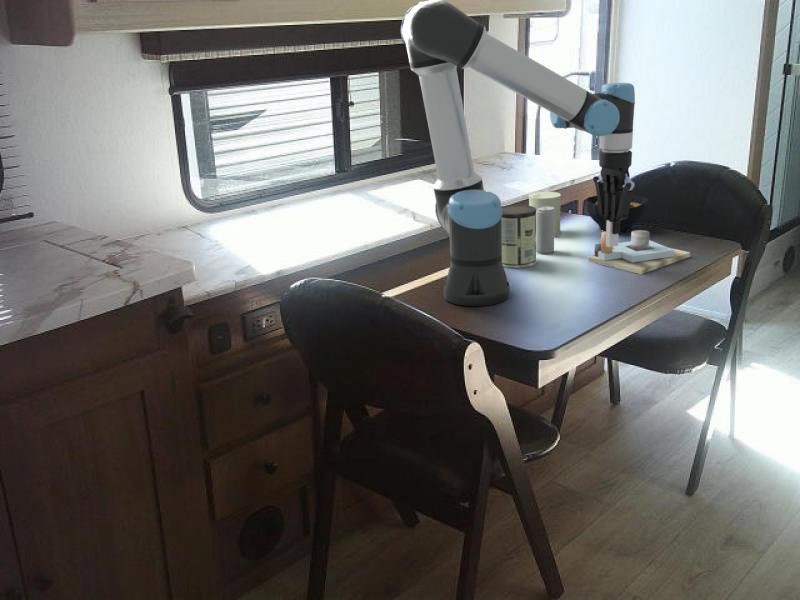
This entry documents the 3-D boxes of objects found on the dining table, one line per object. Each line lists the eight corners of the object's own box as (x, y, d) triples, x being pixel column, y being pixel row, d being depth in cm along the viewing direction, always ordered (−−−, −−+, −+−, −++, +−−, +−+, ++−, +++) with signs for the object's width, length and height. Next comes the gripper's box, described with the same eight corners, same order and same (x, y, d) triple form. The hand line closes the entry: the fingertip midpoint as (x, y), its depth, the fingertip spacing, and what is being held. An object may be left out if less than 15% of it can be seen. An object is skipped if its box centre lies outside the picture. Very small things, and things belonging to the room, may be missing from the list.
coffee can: (505, 255, 213) (505, 203, 208) (542, 259, 208) (542, 206, 203) (489, 265, 204) (488, 212, 200) (527, 270, 199) (527, 215, 195)
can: (523, 232, 234) (523, 192, 230) (551, 228, 237) (551, 188, 233) (537, 239, 226) (537, 197, 222) (566, 235, 228) (567, 194, 224)
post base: (641, 274, 191) (642, 246, 189) (588, 261, 203) (589, 234, 201) (689, 256, 203) (691, 230, 200) (637, 245, 215) (638, 220, 212)
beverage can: (553, 249, 215) (553, 205, 211) (554, 254, 211) (555, 210, 207) (535, 249, 216) (535, 206, 212) (536, 254, 211) (536, 210, 208)
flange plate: (646, 244, 210) (647, 220, 207) (674, 256, 199) (675, 230, 196) (588, 253, 205) (589, 228, 203) (614, 265, 194) (615, 239, 192)
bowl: (649, 236, 222) (651, 201, 219) (586, 237, 225) (587, 202, 222) (642, 222, 238) (644, 189, 235) (583, 222, 241) (584, 190, 238)
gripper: (647, 151, 186) (642, 249, 193) (609, 145, 197) (605, 238, 204) (622, 154, 182) (618, 254, 190) (585, 148, 193) (582, 243, 201)
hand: (611, 245), depth 197 cm, fingers closed
